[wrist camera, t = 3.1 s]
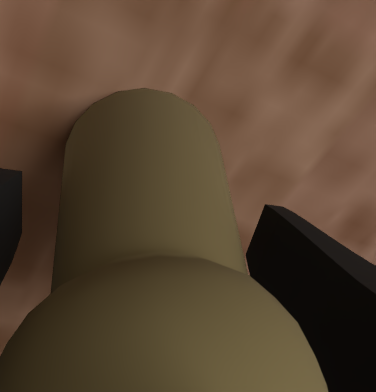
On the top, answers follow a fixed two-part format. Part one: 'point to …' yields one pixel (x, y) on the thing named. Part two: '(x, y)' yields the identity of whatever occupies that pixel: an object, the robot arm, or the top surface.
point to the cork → (152, 269)
